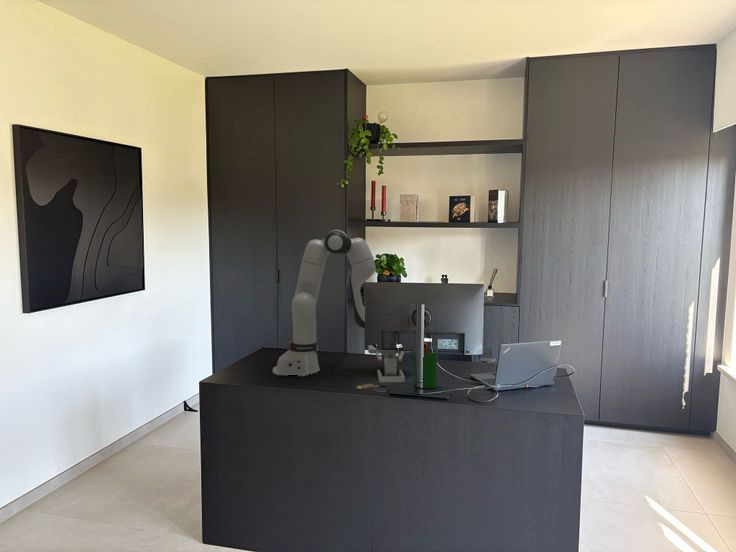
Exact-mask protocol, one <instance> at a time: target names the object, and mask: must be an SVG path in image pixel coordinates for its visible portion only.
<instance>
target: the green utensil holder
mask: <svg viewBox="0 0 736 552" xmlns="http://www.w3.org/2000/svg"><path fill="white" fill-rule="evenodd" d="M428 345H429V344H428V342H424V357H423V388H425V389H424V390H431V389H430V388H432V389H436V388H437V387H438V386H437V384H438V353H439V351H438V350H435V351H434V352H430V351H429V350H428V348H429V347H428ZM428 351H429V352H428ZM413 356H414V357H413V358H414V359H413V386H414V387H415V383H416V349H414V355H413ZM436 386H437V387H436ZM435 387H436V388H435ZM428 388H429V389H428Z"/></svg>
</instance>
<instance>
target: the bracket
mask: <svg viewBox="0 0 736 552" xmlns="http://www.w3.org/2000/svg"><path fill="white" fill-rule="evenodd" d="M376 373H377V374H376V375H377V379H378V382H379V383H381V384H382V383H405V381H406V379H405V378H406V376H405V374H404V372H403V370H402V369H398V375H397V376H384V375H382V372H381V370H380V369H377V372H376Z"/></svg>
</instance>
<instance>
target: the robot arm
mask: <svg viewBox="0 0 736 552" xmlns="http://www.w3.org/2000/svg"><path fill="white" fill-rule="evenodd" d="M330 254H333V255H334V254H335V255H341V254H345V255H346V256H347V258H348V260H349V263H350V266H351V275H350V276H349V277H348V278H349V279H348V285H349V290H350V298H351V301H352V309H353V317H354V318H353V320H354V321H355V322H354V323H355V324H356V325H357V326H358V327H359V328H361V329H366V328H365V307H364V306H365V305H363V299H362V295H361V287H362V285H363V284H364V283H365V282H367V281H368V280H369V279H370V278H371V277H372V276H373V275H374V273H375V271H376V262H375V260H374V257H373V254H372V252H371V249H370V247H369V245H368V243H367V241H366V240H365V239H364V238H362V237H354V238H349V236H348V234H347V233H346V232H345V231H344V230H341V229H333V230H331V231H329V232H328V233H327V234H326V235H325V236H324V238H323V239H311V240H309V241H308V243H307V245H306V247H305V250H304V253H303V256H302V260H301V264H300V269H299V274H298V277H297V282H296V283H297V284H296V288H295V293H294V297H293V298H292V300H291V314H292V338H293V339H292V340H289V341H288V350H287V351H286V352H284V353H283V354H281V355H280V356H279V358H278V359H277V364H276V365H275V366H274V367H272V374H273V373H274V374H273V375H275V374H276V375H275V376H288V375H298V376H297V377H307V376H309V374H310V375H313V373H314V374H317V373H319V372H320V370H321V369H320V366H319V359H318V351H319V349H318V348H319V347H318V341H317V316H316V312H317V311H316V305H317V303H318V298H319V294H320V288H321V285H322V280H323V275H324V272H325V268H326V264H327V262H326V261H327V258H328V257H329V255H330ZM376 349H377V348H375V347H373V346H372V345H367V352H368V353H369V354H370V355H371V354H375V356H376V358H377V360H378V362H382V361H383V360H382V356H381V354H399V356H398V357H397V360H398V362H403V356H404V354H410V352H411V351H395V350H376ZM373 350H374V351H373ZM318 371H319V372H318ZM316 372H317V373H316ZM306 375H307V376H306Z"/></svg>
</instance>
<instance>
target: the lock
mask: <svg viewBox="0 0 736 552" xmlns="http://www.w3.org/2000/svg"><path fill="white" fill-rule="evenodd" d="M383 360H384V369H383V370H384V371H383V372H384V373H383V376H398V375H397V374H398V373H397V369H398V367H397V366H398V364H397V363H398V362H397V361H398V357H396V354H395V355H393V353H388V355H384V359H383Z"/></svg>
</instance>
